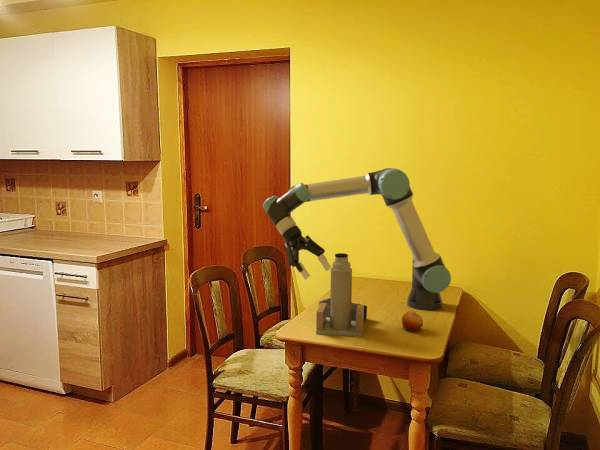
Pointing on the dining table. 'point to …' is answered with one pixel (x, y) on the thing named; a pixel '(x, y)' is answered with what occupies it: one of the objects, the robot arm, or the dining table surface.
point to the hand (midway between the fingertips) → (318, 273)
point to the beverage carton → (353, 309)
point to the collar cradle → (325, 328)
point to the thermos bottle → (341, 292)
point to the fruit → (412, 321)
